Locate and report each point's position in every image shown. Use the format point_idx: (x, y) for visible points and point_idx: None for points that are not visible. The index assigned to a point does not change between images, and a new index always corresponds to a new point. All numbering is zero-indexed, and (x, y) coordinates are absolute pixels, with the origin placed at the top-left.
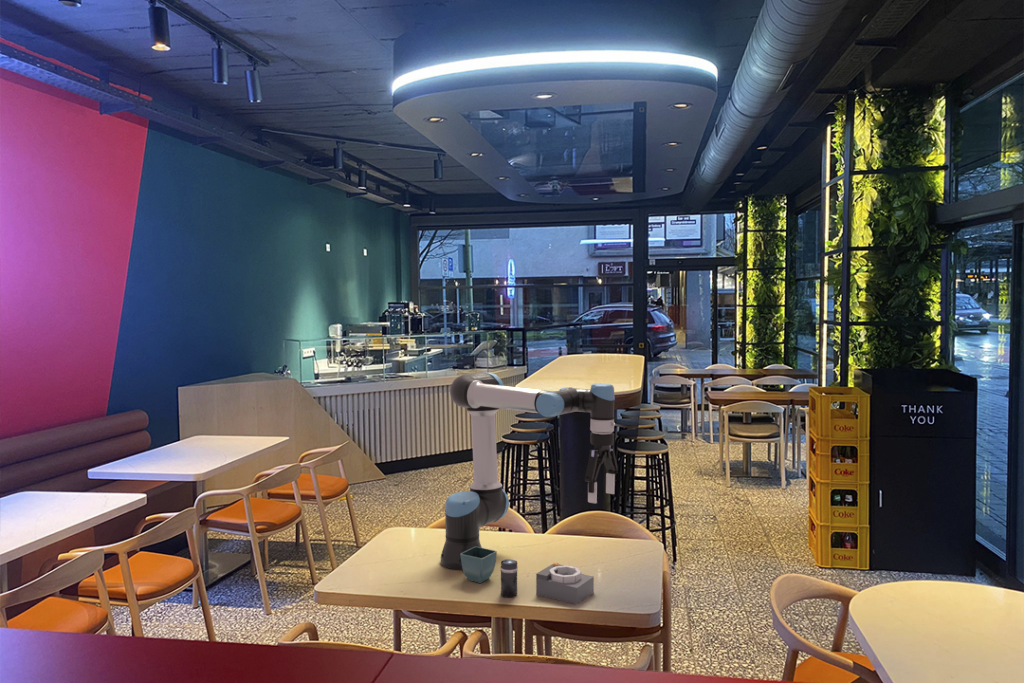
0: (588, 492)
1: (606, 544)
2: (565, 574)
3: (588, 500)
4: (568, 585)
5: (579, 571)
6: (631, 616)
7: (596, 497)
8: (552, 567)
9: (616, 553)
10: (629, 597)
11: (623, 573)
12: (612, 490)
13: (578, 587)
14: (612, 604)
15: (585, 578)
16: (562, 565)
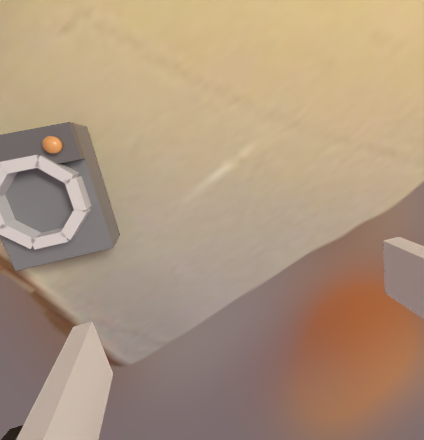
0: (42, 397)
1: (417, 42)
2: (61, 185)
3: (70, 340)
4: (7, 245)
5: (68, 234)
6: None
7: (99, 413)
8: (35, 145)
9: (369, 109)
10: (158, 299)
11: (263, 208)
12: (406, 299)
13: (24, 268)
14: (101, 300)
15: (84, 242)
16: (75, 157)
